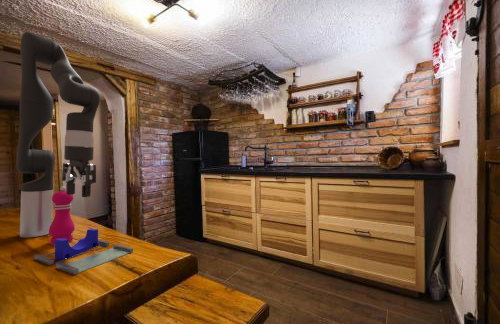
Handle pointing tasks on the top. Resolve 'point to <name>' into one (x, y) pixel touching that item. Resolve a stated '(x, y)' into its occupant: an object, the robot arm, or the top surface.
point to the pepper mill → (62, 217)
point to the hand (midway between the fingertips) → (78, 195)
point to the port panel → (88, 258)
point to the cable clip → (83, 245)
